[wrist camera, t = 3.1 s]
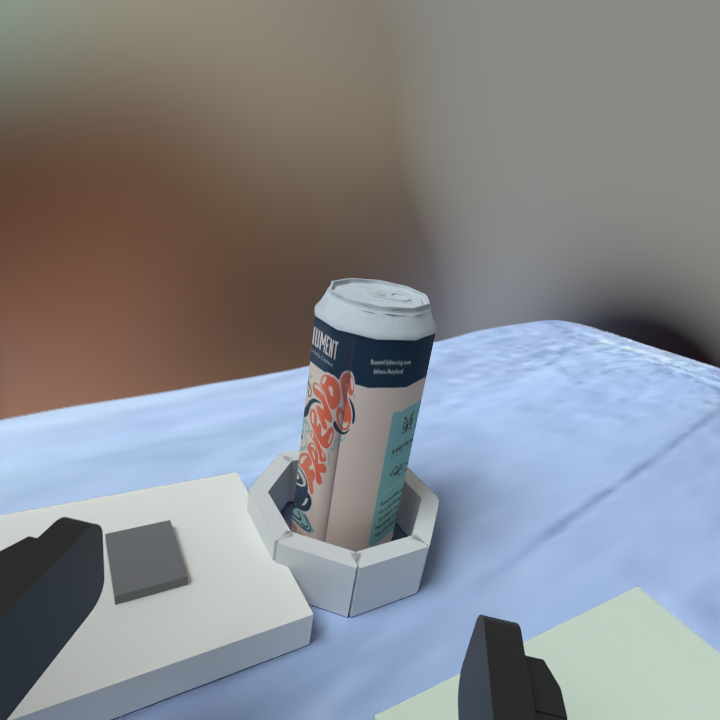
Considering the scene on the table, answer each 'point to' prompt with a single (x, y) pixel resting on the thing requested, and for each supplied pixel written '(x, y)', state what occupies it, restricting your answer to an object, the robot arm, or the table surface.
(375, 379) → the beer can
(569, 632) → the sage mat
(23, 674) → the robot arm
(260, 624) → the charging dock
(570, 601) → the table surface
